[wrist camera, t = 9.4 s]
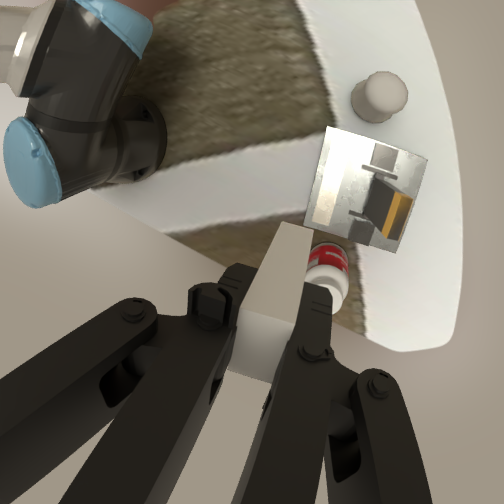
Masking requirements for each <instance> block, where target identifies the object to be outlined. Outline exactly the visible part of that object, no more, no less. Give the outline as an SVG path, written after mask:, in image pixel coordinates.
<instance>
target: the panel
mask: <svg viewBox="0 0 504 504" xmlns="http://www.w3.org/2000/svg"><path fill="white" fill-rule="evenodd" d="M427 161H428V160H427V159H425V158H422V157H420V156H417V155H415V154H412V153H409V152H407V151H404V150H402V149H399V148H396V147H393V146H390V145H388V144H385V143H382V142H379V141H376V140H373V139H370V138H366V137H363V136H360V135H357V134H353V133H350V132H347V131H343V130H339V129H336V128H332V127H328V126H327V130H326V134H325V139H324V143H323V147H322V152H321V156H320V160H319V164H318V168H317V172H316V177H315V181H314V185H313V189H312V193H311V197H310V201H309V204H308V208H307V212H306V216H305V220H304V224H303V225H304V226H307V227H311V228H314V229H318V230H321V231H324V232H328V233H331V234H335V235H338V236H341V237H344V238H348V240H350V241H353V242H357V243H360V244H363V245H366V246H369V245H370V246H374V247H377V248H380V249H383V250H386V251H389V252H392V253H396V251H397V249H398V246H399V244H400V241H401V239H402V236H403V234H404V231H405V228H406V226H407V223H408V220H409V217H410V215H411V212H412V209H413V206H414V203H415V200H416V197H417V194H418V191H419V188H420V185H421V182H422V178H423V175H424V172H425V168H426V165H427ZM376 173H379V174H382V175H384V176H385V177H384V180H386V181H387V182H389V183H390V184H392V185H393V186H395V187H396V188H398V189H399V190H401V191H402V192H404V193H405V194H407V195H408V196H410V197H411V198H412V199H414V200H413V202H412V205H411V208H410V211H409V214H408V217H407V220H406V222H405V225H404V228H403V230H402V233H401V236H400V238H399V241H396V240H391V239H386V238H385V237H384V236H383V234H382V233H381V232H380V231H379V230H378V229H377V227H376V226H375V225H374V224H373V223H372V222H371V221H370V220H369V219H366V218H364V217H363V214H364V211H365V208H366V205H367V202H368V198H369V195H370V192H371V189H372V185H373V182H374V178H375V175H376Z"/></svg>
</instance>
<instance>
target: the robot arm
mask: <svg viewBox="0 0 504 504" xmlns="http://www.w3.org/2000/svg"><path fill="white" fill-rule="evenodd" d="M152 33H153V26H152V23H151V22H150V20H148V19H147V18H146V17H145V16H143V15H142V14H140V13H138V12H137V11H135V10H133V9H131V8H129V7H127V6H125V5H123V4H121V3H119V2H117V1H115V0H48V1H46V2H45V3H43V4H41V5H39V6H37V7H35V8H30V7H17V6H0V83H7V84H8V85H9V86H10V87H11V89H12V91H13V93H14V94H15V96H16V97H25V98H27V97H28V98H29V102H28V106H27V110H26V113H25V116H24V117H18V118H17V119H15V120H14V121H12V122H11V123H10V124H9V126H8V128H7V129H6V132H5V136H4V144H3V154H4V163H5V168H6V172H7V175H8V178H9V181H10V184H11V186H12V188H13V190H14V192H15V193H16V195H17V196H18V198H19V199H20V200H21V201H22V202H23V203H24V204H25V205H27V206H29V207H31V208H42V207H44V206H47V205H50V204H56V203H58V202H60V201H62V200H64V199H66V198H68V197H71V196H73V195H75V194H78V193H80V192H82V191H85V190H87V189H89V188H92V187H94V186H97V185H99V184H101V183H104V182H111V183H122V184H130V183H135V182H137V181H140V180H143V179H145V178H147V177H149V176H150V175H151V174H152V173H153V172H154V171H155V170H156V169H157V168H158V166H159V165H160V163H161V161H162V159H163V156H164V154H165V150H166V143H167V132H166V126H165V122H164V119H163V117H162V115H161V113H160V111H159V110H158V108H157V107H156V106H155V105H154V104H153V103H152V102H151V101H149V100H147V99H145V98H143V97H138V96H124V97H122V94H123V92H124V90H125V88H126V86H127V84H128V82H129V80H130V78H131V76H132V74H133V72H134V70H135V68H136V66H137V64H138V62H139V60H141V59H142V57H143V56H142V54H143V51H144V49H145V47H146V45H147V43H148V41H149V39H150V37H151V36H152ZM313 232H314V230H312V229H308V228H305V227H301V226H298V225H294V224H290V223H287V222H283V221H282V222H281V225H280V227H279V229H278V231H277V233H276V235H275V237H274V239H273V241H272V243H271V245H270V247H269V249H268V251H267V253H266V255H265V257H264V259H263V261H262V263H261V265H260V267H259V269H257V268H253V267H250V266H246V265H243V264H240V263H236V264H234V265H232V266H230V267H228V268H227V269H226V271H225V272H224V274H223V275H222V277H221V278H220V280H219V281H218V283H212V282H210V283H200V284H197V285H194V286H193V287H192V288H190V289H189V290H188V308H187V315H185V316H169V315H161V314H157V310H156V307H155V306H154V305H153V304H152V303H151V302H150V301H148V300H145V299H142V298H135V297H134V298H127V299H124V300H122V301H119V302H118V303H116V304H114V305H113V306H111V307H110V308H108V309H107V310H105V311H103V312H102V313H100V314H99V315H97V316H95V317H94V318H92V319H91V320H89V321H88V322H86V323H84V324H83V325H81V326H80V327H78V328H77V329H75V330H74V331H72V332H70V333H69V334H67V335H66V336H64V337H63V338H61V339H60V340H58V341H57V342H55V343H54V344H52V345H50V346H49V347H48V348H46V349H44V350H43V351H41V352H40V353H38V354H37V355H36V356H34V357H32V358H31V359H29V360H28V361H26V362H25V363H23V364H22V365H20V366H19V367H18V368H16V369H14V370H13V371H12V372H10V373H9V374H7V375H6V376H4V377H3V378H1V379H0V504H10V503H11V502H13V501H14V500H15V499H17V498H18V497H19V496H20V495H22V494H23V493H24V492H26V491H27V490H28V489H29V488H31V487H32V486H33V485H34V484H36V483H37V482H38V481H39V480H41V479H42V478H43V477H45V476H46V475H47V474H48V473H50V472H51V471H52V470H53V469H54V468H56V467H57V466H58V465H59V464H60V463H62V462H63V461H64V460H65V459H67V458H68V457H69V456H70V455H71V454H73V453H74V452H75V451H76V450H77V449H78V448H80V447H81V446H82V445H83V444H84V443H86V442H87V441H88V440H89V439H91V438H92V437H93V436H94V435H95V434H96V433H98V432H99V431H100V430H101V429H102V428H103V427H105V426H106V424H108V423H109V422H110V421H111V420H113V419H114V420H113V421H112V423H111V424H110V426H109V427H108V429H107V430H106V432H105V433H104V435H103V436H102V438H101V439H100V441H99V442H98V444H97V445H96V447H95V448H94V450H93V451H92V453H91V454H90V456H89V457H88V459H87V460H86V462H85V463H84V465H83V466H82V468H81V469H80V471H79V472H78V474H77V475H76V477H75V479H74V480H73V482H72V483H71V485H70V486H69V488H68V489H67V491H66V492H65V494H64V496H63V497H62V499H61V500H60V502H59V503H58V504H166V503H167V501H168V499H169V497H170V495H171V493H172V491H173V489H174V487H175V485H176V483H177V480H178V478H179V476H180V474H181V472H182V470H183V468H184V466H185V464H186V462H187V460H188V457H189V455H190V453H191V451H192V449H193V447H194V444H195V442H196V440H197V438H198V436H199V434H200V431H201V429H202V427H203V425H204V423H205V421H206V418H207V416H208V414H209V412H210V410H211V407H212V405H213V403H214V400H215V398H216V396H217V394H218V392H219V390H220V387H221V385H222V382H223V376H224V373H225V371H226V369H227V366H228V370H230V371H233V372H236V373H239V374H242V375H245V376H248V377H251V378H255V379H258V380H261V381H265V382H268V383H271V384H272V386H271V389H270V391H269V394H268V396H267V398H266V401H265V403H264V405H263V408H262V409H263V412H262V415H261V418H260V421H259V424H258V428H257V431H256V434H255V437H254V440H253V443H252V446H251V449H250V452H249V455H248V458H247V461H246V464H245V466H244V470H243V472H242V475H241V478H240V481H239V483H238V486H237V489H236V492H235V494H234V497H233V500H232V502H231V504H315V499H316V495H317V489H318V485H319V479H320V474H321V468H322V462H323V456H324V461H325V470H326V480H327V490H328V502H329V504H433V503H432V498H431V494H430V489H429V485H428V481H427V477H426V473H425V469H424V465H423V461H422V458H421V454H420V451H419V447H418V443H417V440H416V437H415V433H414V430H413V427H412V423H411V420H410V417H409V414H408V411H407V408H406V405H405V402H404V399H403V396H402V393H401V390H400V388H399V386H398V384H397V382H396V380H395V379H394V378H393V377H392V376H391V375H390V374H389V373H387V372H385V371H383V370H380V369H375V368H372V369H367V370H365V371H363V372H362V373H360V374H358V373H356V372H354V371H352V370H350V369H348V368H346V367H345V366H343V365H341V364H340V363H339V362H338V361H337V360H336V358H335V357H334V351H333V350H332V348H331V347H330V339H331V326H332V307H333V296H332V295H331V293H330V291H329V289H328V288H326V287H323V286H319V285H316V284H312V283H309V282H305V281H304V280H305V275H306V270H307V265H308V260H309V254H310V249H311V243H312V238H313ZM228 364H229V365H228Z"/></svg>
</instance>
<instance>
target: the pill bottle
mask: <svg viewBox="0 0 504 504" xmlns="http://www.w3.org/2000/svg"><path fill="white" fill-rule="evenodd" d="M304 281H305V282H309V283H312V284H316V285H319V286H323V287H326V288H328V289H329V291H330V293H331V295H332V296H333V307H332V314H334V313H336V312H337V311H338V310H339V309H340V308H341V306H342V302H343V300H344V298H345V297H346V295H347V292H348V285H349V283H348V258H347V255H346V253H345V251H344V250H343V249H342V248H341V247H340V246H338V245H336V244H334V243H321V244H319V245H317V246H315V247H314V248H313V249H312V250H311V252H310V254H309V260H308V265H307V270H306V275H305V280H304Z"/></svg>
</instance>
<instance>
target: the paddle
mask: <svg viewBox="0 0 504 504" xmlns="http://www.w3.org/2000/svg"><path fill="white" fill-rule="evenodd" d="M384 177H385V176H384V175H382V174H379V173H376V175H375V178H374V182H373V185H372V189H371V192H370V195H369V198H368V202H367V205H366V208H365V211H364V214H363V217H364V218H366V219H369V220H370V221H371V222H372V223H373V224H374V225H375V226H376V227H377V229H378V230H379V231H380V232H381V233H382V234H383V236H384V237H385V238H386V239H391V240H396V241H399V238H400V236H401V233H402V230H403V228H404V225H405V222H406V220H407V217H408V214H409V211H410V208H411V205H412V202H413V200H414V199H412V198H411V197H410V196H408V195H407V194H405V193H404V192H402V191H401V190H399V189H398V188H396V187H395V186H393V185H392V184H390V183H389V182H387V181H386V180H384Z"/></svg>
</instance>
